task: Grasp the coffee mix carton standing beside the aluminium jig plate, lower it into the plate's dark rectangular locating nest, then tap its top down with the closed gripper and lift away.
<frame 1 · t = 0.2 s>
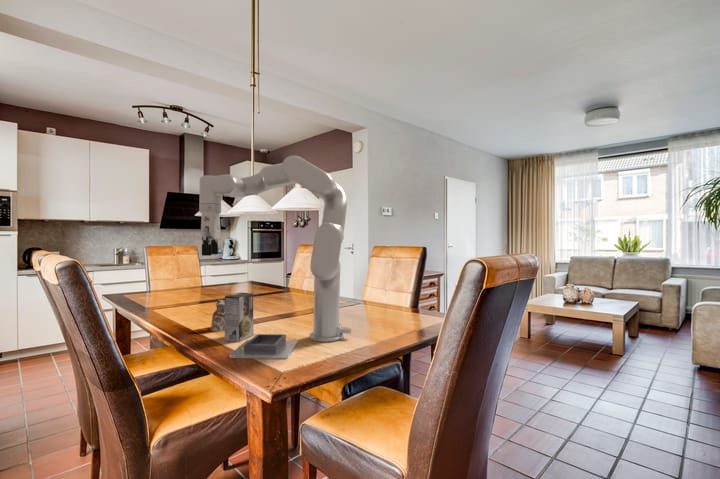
hand: (210, 254, 133), 30 cm above the table, fingers open, 9 cm apart
coffee box: (239, 338, 131), on the table
figurine: (220, 330, 143), on the table
locating jig: (266, 350, 117), on the table
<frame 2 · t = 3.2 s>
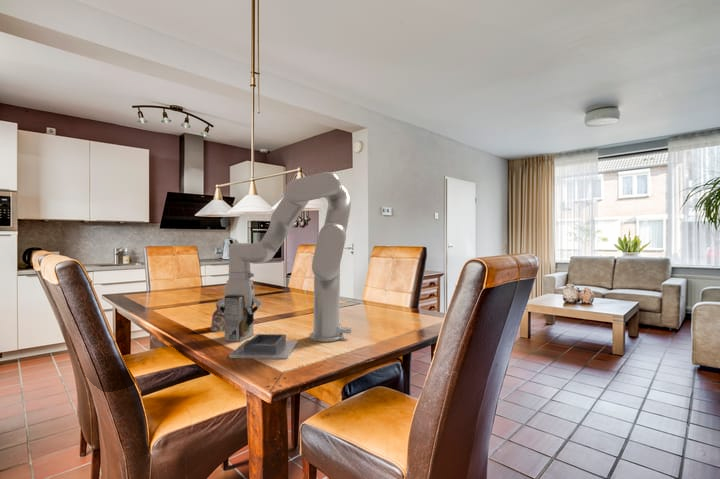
hand: (239, 324, 131), 5 cm above the table, fingers closed on coffee box, 7 cm apart
coffee box: (239, 338, 131), on the table, touching gripper
everything else where it was.
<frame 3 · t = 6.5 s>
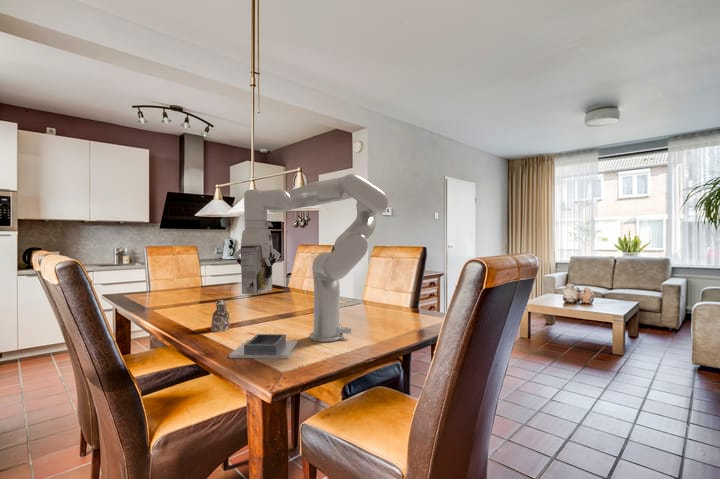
hand: (257, 277, 122), 23 cm above the table, fingers closed on coffee box, 7 cm apart
coffee box: (257, 292, 122), point 18 cm above the table, touching gripper
everything else where it was.
when the fingers open (8 cm above the table, at t = 9.7 s): coffee box stays where it is, resting on locating jig.
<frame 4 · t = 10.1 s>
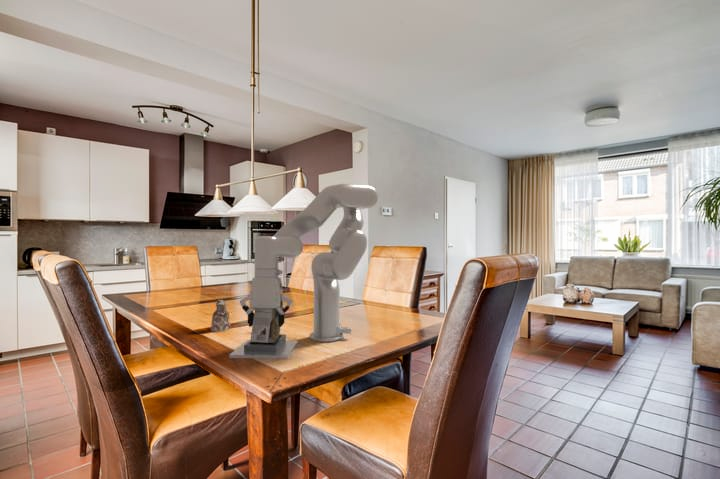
hand: (266, 325, 117), 8 cm above the table, fingers open, 9 cm apart
coffee box: (264, 343, 117), point 2 cm above the table, touching locating jig
everything else where it was.
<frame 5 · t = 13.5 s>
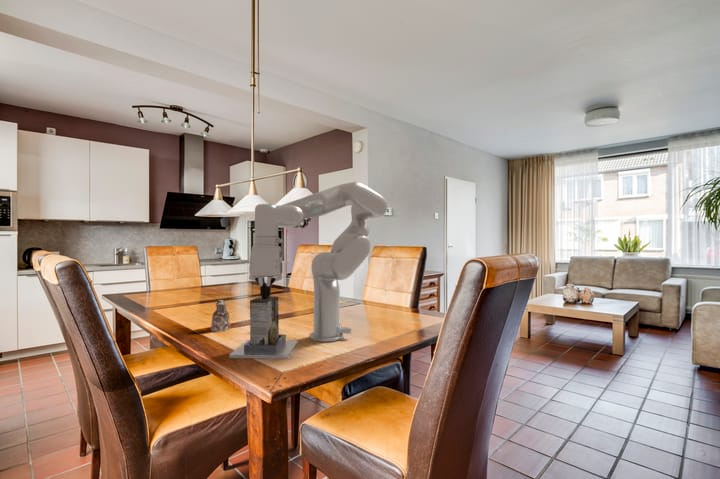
hand: (265, 297, 117), 17 cm above the table, fingers closed
coffee box: (264, 347, 117), point 1 cm above the table, touching gripper, locating jig
everything else where it was.
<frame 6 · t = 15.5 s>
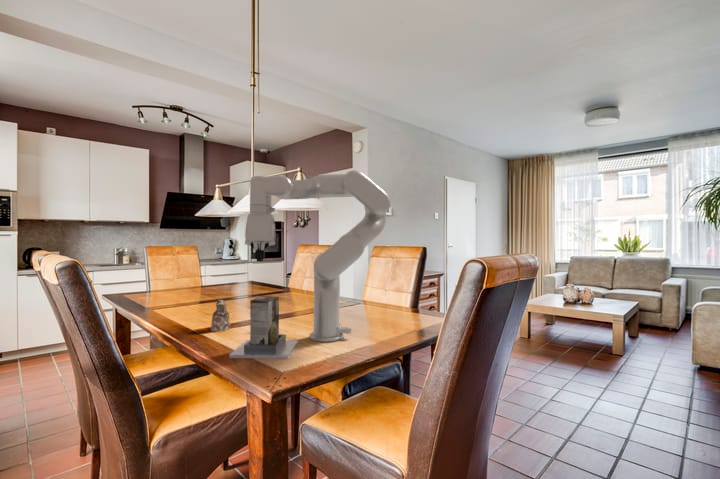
hand: (259, 261, 130), 28 cm above the table, fingers closed
coffee box: (264, 347, 117), point 1 cm above the table, touching locating jig
everything else where it was.
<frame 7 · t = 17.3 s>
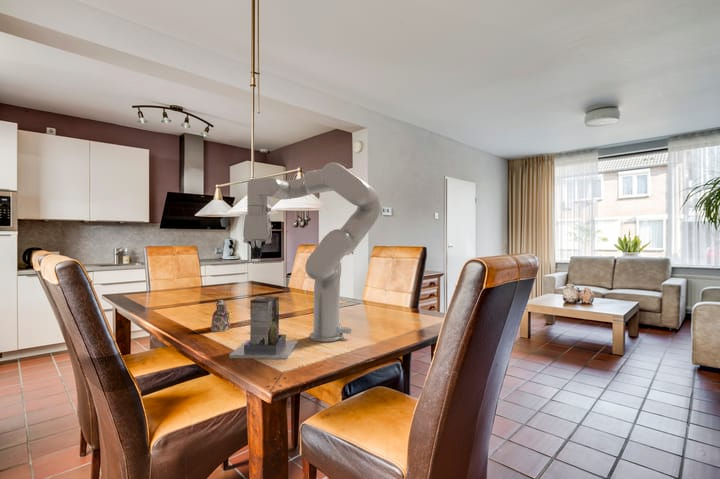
hand: (257, 257, 139), 29 cm above the table, fingers closed
nothing on the table moved.
at the end: coffee box 0.4 cm off-centre on the locating jig, point 0.8 cm above the locating jig's base; coffee box tilted 0°; the gripper is holding nothing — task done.
